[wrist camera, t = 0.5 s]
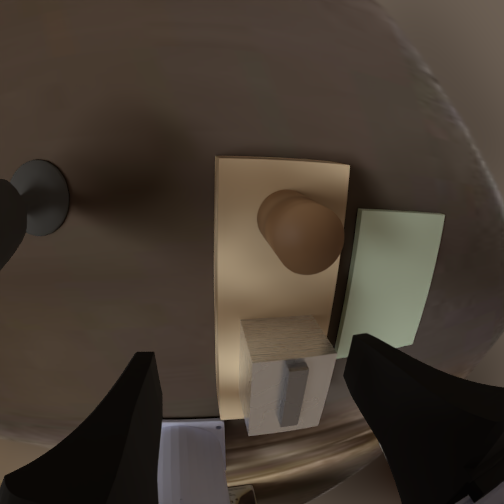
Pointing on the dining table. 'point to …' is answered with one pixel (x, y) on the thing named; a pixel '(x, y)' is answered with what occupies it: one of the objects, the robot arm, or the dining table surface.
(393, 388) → the robot arm
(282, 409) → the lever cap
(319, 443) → the dining table surface
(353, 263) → the board
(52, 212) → the sundae
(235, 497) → the coffee box
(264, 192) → the panel with round knob
